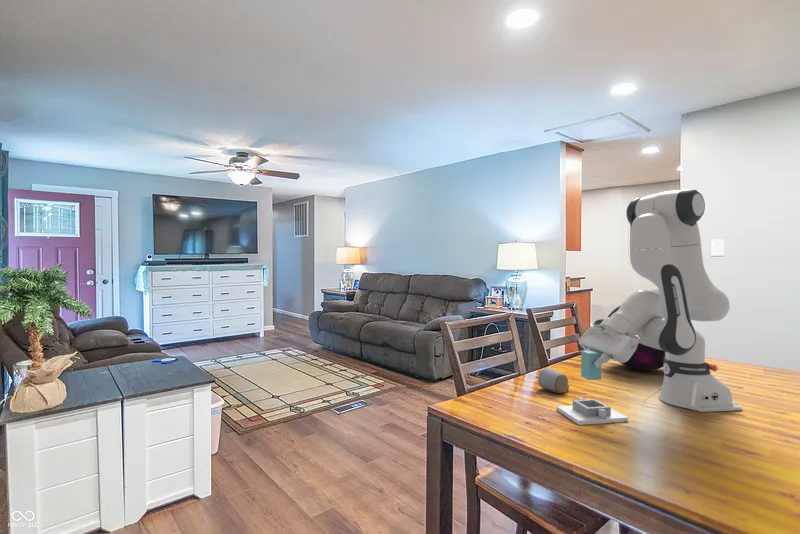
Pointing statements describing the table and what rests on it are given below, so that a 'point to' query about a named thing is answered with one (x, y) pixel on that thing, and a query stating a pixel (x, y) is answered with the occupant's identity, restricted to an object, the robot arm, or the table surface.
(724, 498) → the table surface
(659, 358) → the black purple ball
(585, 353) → the block
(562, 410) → the housing plate
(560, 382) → the ceramic mug
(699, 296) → the robot arm
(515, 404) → the table surface
